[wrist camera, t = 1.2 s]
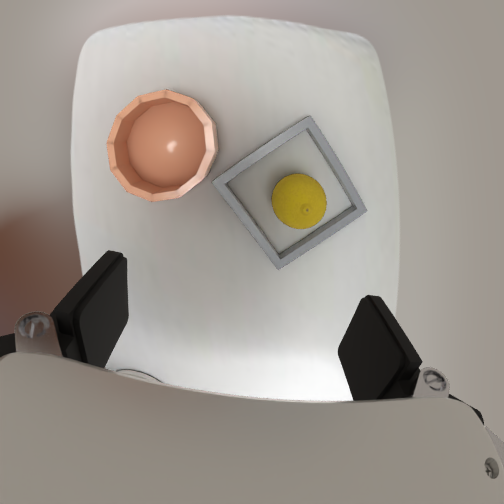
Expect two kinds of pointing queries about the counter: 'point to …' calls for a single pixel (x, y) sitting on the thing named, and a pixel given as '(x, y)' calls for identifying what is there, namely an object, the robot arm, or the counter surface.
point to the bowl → (162, 145)
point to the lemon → (299, 201)
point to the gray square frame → (320, 233)
